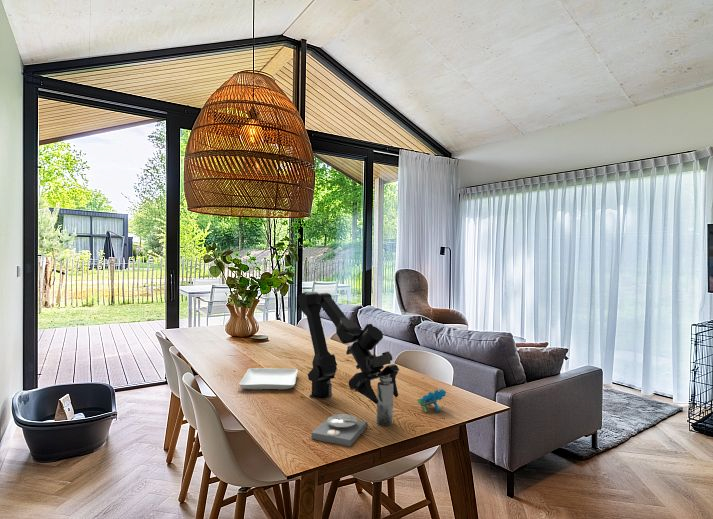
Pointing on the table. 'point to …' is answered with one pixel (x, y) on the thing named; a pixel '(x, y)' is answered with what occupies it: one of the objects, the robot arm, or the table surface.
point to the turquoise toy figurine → (431, 399)
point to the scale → (339, 433)
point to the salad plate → (269, 378)
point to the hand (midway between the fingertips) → (387, 399)
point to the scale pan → (342, 420)
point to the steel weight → (385, 401)
